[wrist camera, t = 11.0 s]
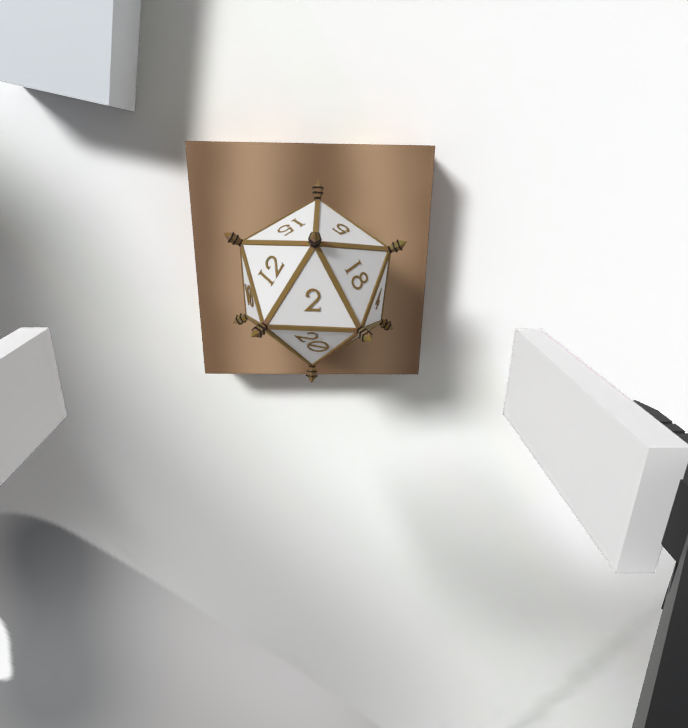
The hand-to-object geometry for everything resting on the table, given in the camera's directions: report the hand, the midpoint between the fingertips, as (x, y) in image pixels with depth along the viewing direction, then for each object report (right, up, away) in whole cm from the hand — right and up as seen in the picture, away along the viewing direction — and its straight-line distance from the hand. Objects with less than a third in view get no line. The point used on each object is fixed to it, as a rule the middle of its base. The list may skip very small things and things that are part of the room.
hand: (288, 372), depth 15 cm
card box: (-12, +19, +13) cm, 26 cm away
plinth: (0, +7, +17) cm, 19 cm away
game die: (0, +6, +15) cm, 16 cm away
